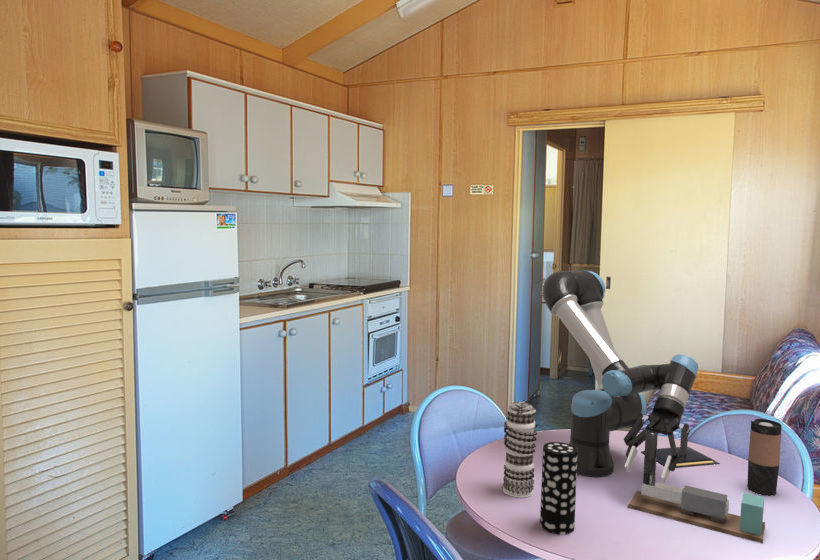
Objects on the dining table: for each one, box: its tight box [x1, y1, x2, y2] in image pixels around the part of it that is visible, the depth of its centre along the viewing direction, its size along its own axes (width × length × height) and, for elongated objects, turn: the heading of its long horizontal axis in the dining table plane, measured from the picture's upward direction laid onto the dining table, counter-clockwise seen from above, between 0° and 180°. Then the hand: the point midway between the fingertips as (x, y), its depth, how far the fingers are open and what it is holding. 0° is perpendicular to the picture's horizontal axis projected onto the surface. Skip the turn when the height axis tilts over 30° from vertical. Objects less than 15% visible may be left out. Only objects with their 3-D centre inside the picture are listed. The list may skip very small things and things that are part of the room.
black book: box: [640, 446, 721, 469], centre depth 194 cm, size 20×2×15 cm
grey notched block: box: [681, 484, 728, 524], centre depth 152 cm, size 10×5×6 cm, turn 56°
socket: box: [739, 492, 765, 536], centre depth 146 cm, size 4×7×7 cm, turn 146°
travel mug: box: [747, 418, 783, 497], centre depth 169 cm, size 8×8×20 cm
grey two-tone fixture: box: [641, 431, 730, 516], centre depth 154 cm, size 20×3×17 cm, turn 56°
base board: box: [627, 490, 766, 544], centre depth 153 cm, size 31×10×1 cm, turn 56°
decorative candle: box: [502, 401, 538, 499], centre depth 166 cm, size 9×9×25 cm
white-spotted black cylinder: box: [539, 441, 578, 535], centre depth 146 cm, size 8×8×20 cm
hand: (644, 474), depth 157 cm, fingers open, 9 cm apart
